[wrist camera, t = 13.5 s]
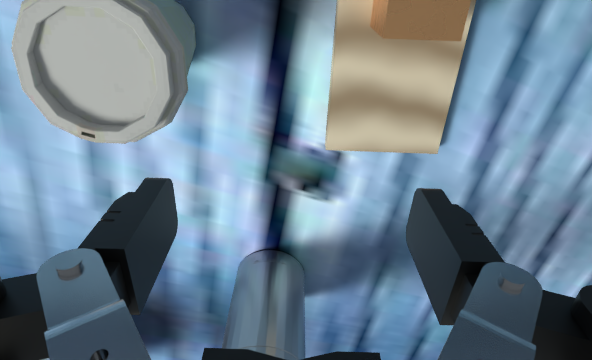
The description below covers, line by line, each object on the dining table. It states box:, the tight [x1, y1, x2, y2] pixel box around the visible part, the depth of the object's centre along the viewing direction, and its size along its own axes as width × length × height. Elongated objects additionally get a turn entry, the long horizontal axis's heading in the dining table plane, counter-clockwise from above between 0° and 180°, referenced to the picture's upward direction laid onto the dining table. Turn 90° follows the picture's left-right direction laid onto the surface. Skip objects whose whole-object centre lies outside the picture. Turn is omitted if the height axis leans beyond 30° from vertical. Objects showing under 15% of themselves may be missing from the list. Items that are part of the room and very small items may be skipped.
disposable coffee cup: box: [11, 0, 196, 144], centre depth 29 cm, size 11×11×15 cm
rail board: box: [325, 0, 476, 154], centre depth 34 cm, size 22×12×4 cm, turn 178°
